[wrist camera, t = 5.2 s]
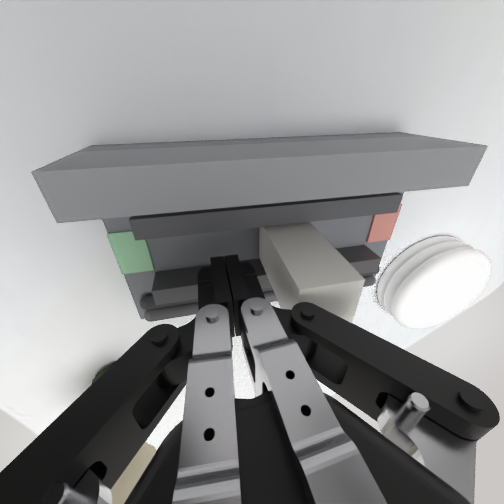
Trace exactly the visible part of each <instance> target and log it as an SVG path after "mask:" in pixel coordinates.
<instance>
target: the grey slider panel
mask: <svg viewBox="0 0 504 504" xmlns="http://www.w3.org/2000/svg"><path fill="white" fill-rule="evenodd" d="M486 148H487V146H486V145H480V144H473V143H467V142H460V141H454V140H447V139H440V138H434V137H427V136H421V135H414V134H408V133H401V132H398V133H375V134H351V135H328V136H305V137H281V138H258V139H234V140H211V141H187V142H164V143H140V144H117V145H93V146H89V147H87V148H84V149H82V150H80V151H78V152H75V153H73V154H71V155H69V156H66V157H64V158H62V159H60V160H57V161H55V162H53V163H50V164H48V165H46V166H44V167H41V168H39V169H37V170H35V171H32V174H33V176H34V178H35V180H36V182H37V184H38V186H39V188H40V190H41V192H42V194H43V196H44V198H45V200H46V202H47V204H48V206H49V208H50V210H51V212H52V214H53V216H54V218H55V220H56V222H57V223H63V222H74V221H85V220H96V219H103V222H104V224H105V227H106V229H107V232H108V233H107V236H108V239H109V241H110V244H111V246H112V249H113V252H114V254H115V257H116V259H117V262H118V264H119V267H120V269H121V272H122V274H124V276H125V279H126V281H127V284H128V286H129V289H130V292H131V294H132V297H133V299H134V302H135V305H136V307H137V310H138V312H139V315H140V318H141V319H144V318H145V319H146V320H147V321H157V320H163V319H169V318H175V317H181V316H187V315H194V314H197V312H198V277H197V274H198V272H199V271H200V269H201V268H203V267H211V261H210V257H218V256H223V257H224V256H226V255H234V254H237V255H238V258H239V261H240V263H243V262H249V263H250V264H251V265H252V266H253V267H254V269H255V272H256V275H257V278H258V280H259V283H260V286H261V288H262V291H263V294H264V296H265V299H266V300H267V301H269V302H273V301H278V300H277V298H276V295H275V293H274V291H273V288H272V286H271V284H270V281H269V279H268V277H267V274H266V272H265V270H264V267H263V265H262V263H261V260H260V258H259V227H267V226H276V225H286V224H295V223H304V222H310V223H311V224H312V225H313V226H314V227H315V228H316V229H317V230H318V231H319V232H320V233H321V234H322V235H323V236H324V237H325V238H326V239H327V240H328V241H329V242H330V244H331V245H332V246H333V247H334V248H335V249H336V250H337V251H338V252H339V253H340V254H341V255H342V256H343V257H344V258H345V259H346V260H347V261H348V262H349V263H350V264H351V265H352V266H353V267H354V268H355V269H356V270H357V271H358V272H359V273H360V275H361V276H362V277H363V278H364V279H365V282H364V286H363V287H365V286H371V285H373V284H374V283H375V281H376V279H375V275H376V274H377V273H378V272H379V264H380V261H381V258H382V255H383V252H384V249H385V246H386V243H387V240H390V238H391V235H392V232H393V229H394V226H395V223H396V220H397V217H398V215H399V212H400V209H401V206H402V204H401V203H400V202H401V199H402V196H403V193H404V191H415V190H426V189H437V188H448V187H459V186H468V185H469V183H470V181H471V179H472V177H473V175H474V173H475V171H476V169H477V167H478V165H479V163H480V161H481V159H482V157H483V154H484V152H485V150H486Z"/></svg>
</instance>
